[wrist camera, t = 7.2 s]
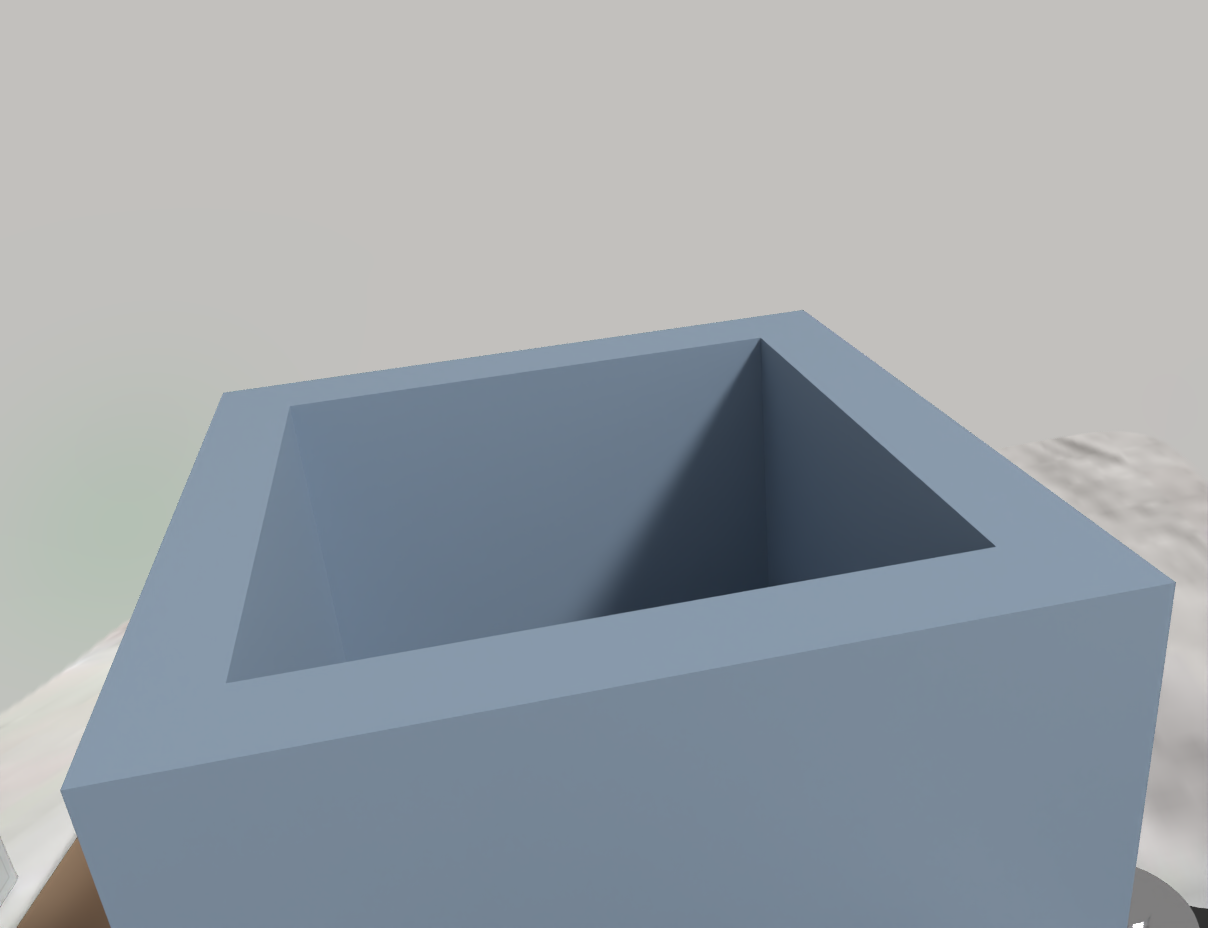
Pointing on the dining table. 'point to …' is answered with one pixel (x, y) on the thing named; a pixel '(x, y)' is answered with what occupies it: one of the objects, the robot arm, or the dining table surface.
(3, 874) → the supplement box
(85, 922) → the base plate
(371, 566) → the sleeve
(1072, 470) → the dining table surface
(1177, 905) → the robot arm
